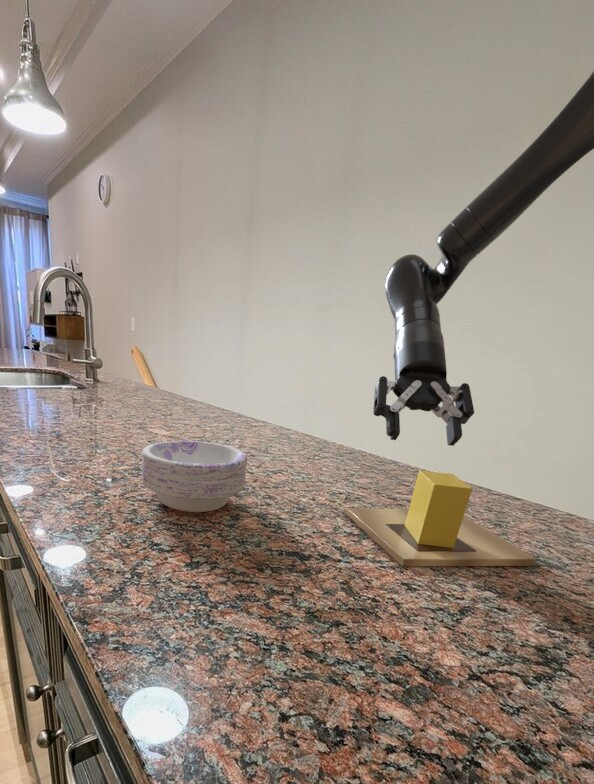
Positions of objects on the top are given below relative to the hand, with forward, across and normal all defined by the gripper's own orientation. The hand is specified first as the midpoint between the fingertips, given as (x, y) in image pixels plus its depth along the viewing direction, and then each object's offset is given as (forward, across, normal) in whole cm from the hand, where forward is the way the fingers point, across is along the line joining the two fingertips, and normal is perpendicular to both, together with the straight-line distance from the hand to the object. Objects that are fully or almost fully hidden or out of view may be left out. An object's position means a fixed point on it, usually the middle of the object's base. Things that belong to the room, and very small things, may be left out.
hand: (424, 440), depth 67 cm
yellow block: (+16, -1, -2) cm, 17 cm away
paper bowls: (+13, -34, +3) cm, 36 cm away
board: (+15, 0, 0) cm, 16 cm away
